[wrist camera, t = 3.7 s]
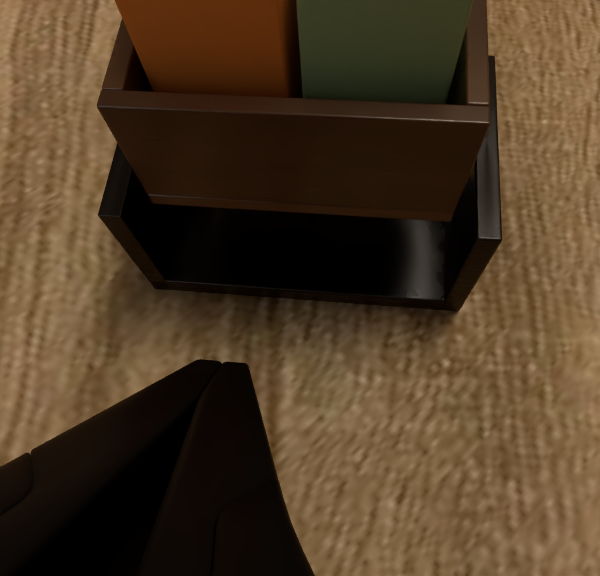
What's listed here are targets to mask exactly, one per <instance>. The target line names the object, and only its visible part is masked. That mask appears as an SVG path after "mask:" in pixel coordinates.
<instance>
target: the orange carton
mask: <svg viewBox="0 0 600 576" xmlns="http://www.w3.org/2000/svg"><path fill="white" fill-rule="evenodd" d="M115 2H116V4H117V7H118V9H119V11H120V14H121V16H122V19H123V21H124V23H125V26H126V28H127V30H128V33H129V35H130V38H131V40H132V42H133V45H134V47H135V49H136V52H137V54H138V56H139V59H140V61H141V64H142V66H143V68H144V71H145V73H146V75H147V78H148V80H149V83H150V85H151V87H152V90H153V92H171V93H194V94H217V95H241V96H264V97H287V98H303V90H302V76H301V62H300V48H299V34H298V19H297V5H296V0H115Z"/></svg>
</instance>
